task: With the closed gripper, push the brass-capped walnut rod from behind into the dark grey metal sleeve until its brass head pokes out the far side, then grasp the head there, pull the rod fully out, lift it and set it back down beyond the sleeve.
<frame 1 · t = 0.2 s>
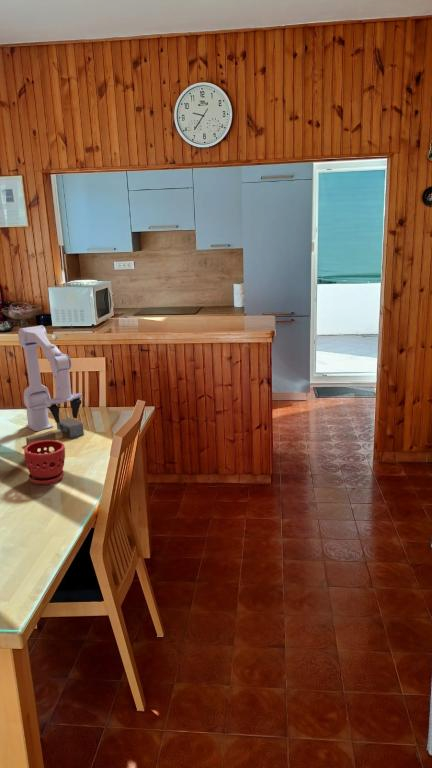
hand: (66, 420, 230), 10 cm above the table, fingers open, 7 cm apart
sleeve housing: (70, 433, 244), on the table
plant pot: (48, 479, 201), on the table
capped rod: (44, 441, 237), on the table
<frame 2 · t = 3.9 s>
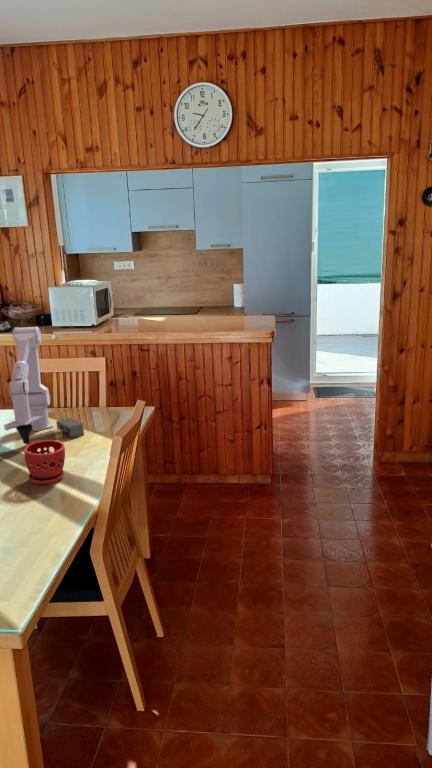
hand: (25, 443, 231), 1 cm above the table, fingers closed
capped rod: (45, 441, 237), on the table, touching gripper
everything else where it was.
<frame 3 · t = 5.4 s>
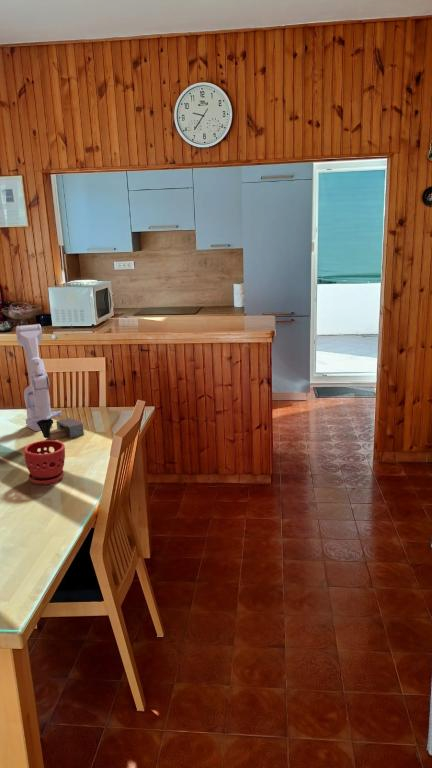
hand: (46, 437, 237), 1 cm above the table, fingers closed
capped rod: (64, 435, 243), on the table, touching gripper
everything else where it was.
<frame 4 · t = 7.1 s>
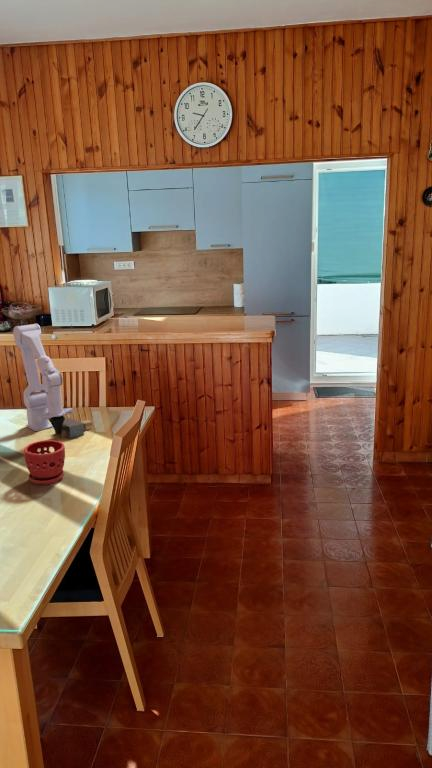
hand: (58, 433, 240), 1 cm above the table, fingers closed
capped rod: (76, 431, 246), on the table, touching gripper
everything else where it was.
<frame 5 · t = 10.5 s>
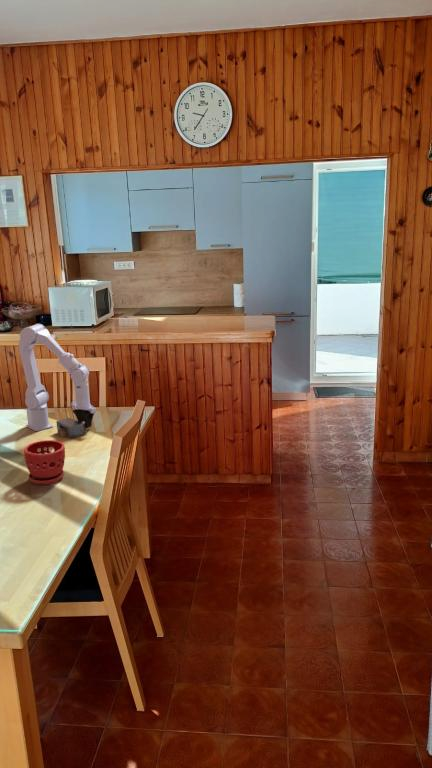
hand: (85, 426, 248), 1 cm above the table, fingers open, 4 cm apart
nothing on the table moved.
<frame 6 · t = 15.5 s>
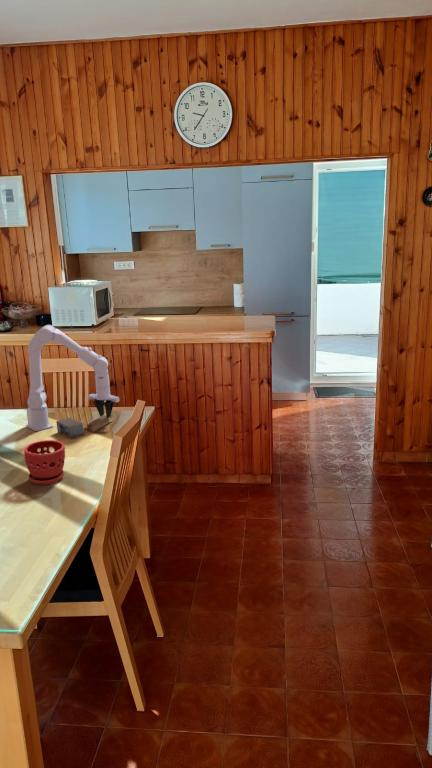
hand: (105, 416, 254), 3 cm above the table, fingers closed on capped rod, 3 cm apart
capped rod: (100, 425, 252), on the table, touching gripper
everything else where it was.
when the fingers open (3 cm above the table, at t = 15.9 s): capped rod stays where it is, on the table.
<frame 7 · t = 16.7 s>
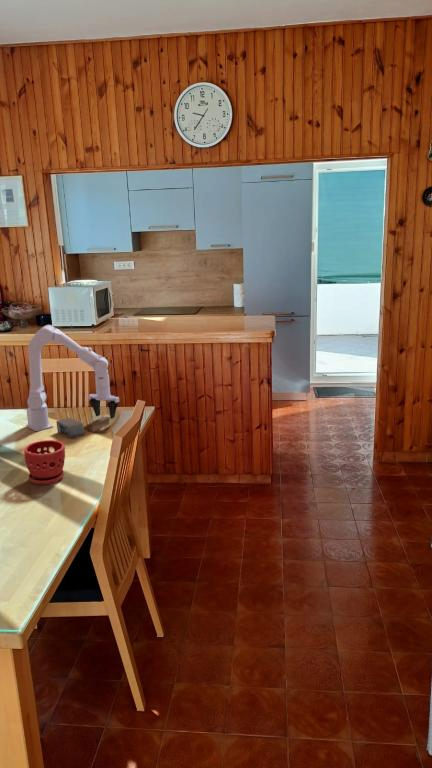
hand: (105, 416, 254), 3 cm above the table, fingers open, 7 cm apart
capped rod: (100, 426, 252), on the table
everything else where it was.
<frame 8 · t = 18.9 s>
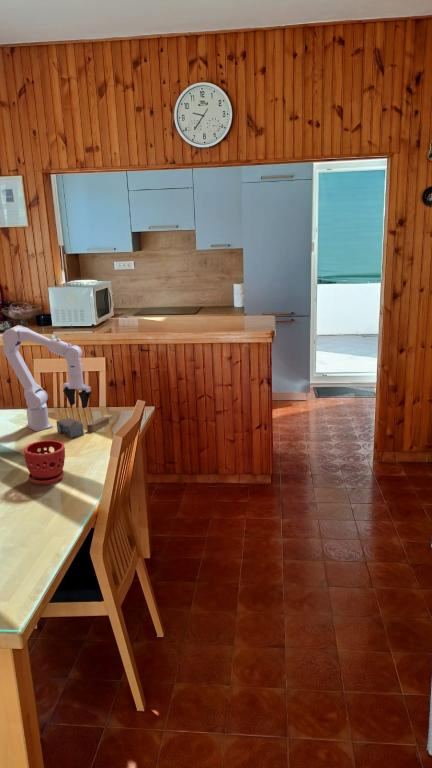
hand: (78, 406, 249), 9 cm above the table, fingers open, 7 cm apart
nothing on the table moved.
at the end: capped rod inside the target area on the table beside the sleeve housing (2.4 cm from its centre), on the table; the gripper is holding nothing; capped rod tilted 0° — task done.
